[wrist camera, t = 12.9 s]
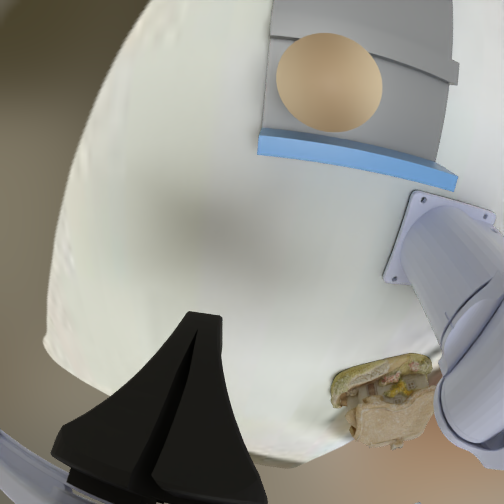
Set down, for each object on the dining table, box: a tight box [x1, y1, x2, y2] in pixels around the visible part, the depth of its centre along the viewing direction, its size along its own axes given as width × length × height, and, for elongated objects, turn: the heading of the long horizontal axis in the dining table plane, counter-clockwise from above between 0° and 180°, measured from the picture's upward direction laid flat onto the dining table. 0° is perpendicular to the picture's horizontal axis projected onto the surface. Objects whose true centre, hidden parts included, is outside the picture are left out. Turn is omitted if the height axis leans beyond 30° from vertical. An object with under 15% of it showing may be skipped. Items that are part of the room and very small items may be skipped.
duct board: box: [257, 0, 459, 192], centre depth 11 cm, size 12×15×4 cm
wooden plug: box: [276, 33, 382, 132], centre depth 11 cm, size 4×4×6 cm
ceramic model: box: [331, 353, 436, 450], centre depth 26 cm, size 14×11×10 cm
